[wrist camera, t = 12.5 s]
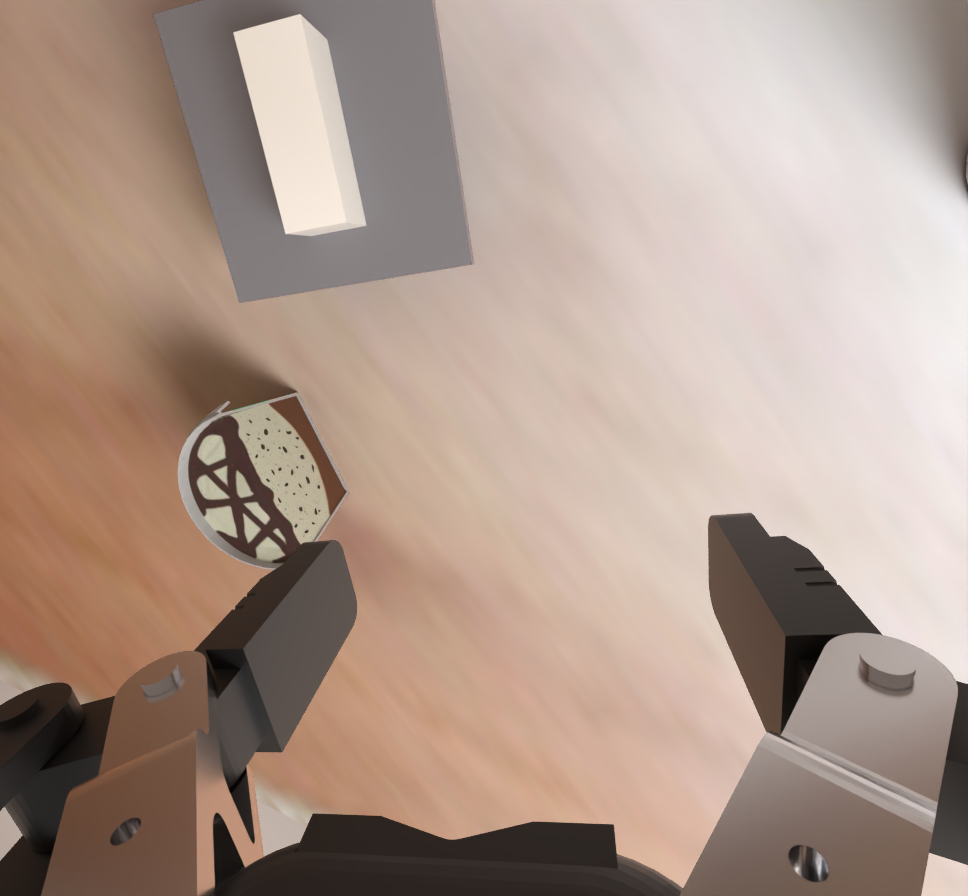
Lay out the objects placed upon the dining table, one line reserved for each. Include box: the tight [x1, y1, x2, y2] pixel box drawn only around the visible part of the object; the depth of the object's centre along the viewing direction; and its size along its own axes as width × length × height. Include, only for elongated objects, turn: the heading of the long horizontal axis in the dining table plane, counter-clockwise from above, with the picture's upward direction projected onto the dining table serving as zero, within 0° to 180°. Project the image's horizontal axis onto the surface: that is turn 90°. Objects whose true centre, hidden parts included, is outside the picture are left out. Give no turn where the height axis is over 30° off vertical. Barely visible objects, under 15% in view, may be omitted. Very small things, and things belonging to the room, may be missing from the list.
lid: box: [153, 0, 474, 303], centre depth 27 cm, size 15×15×4 cm
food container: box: [178, 392, 349, 570], centre depth 39 cm, size 12×6×10 cm, turn 22°
